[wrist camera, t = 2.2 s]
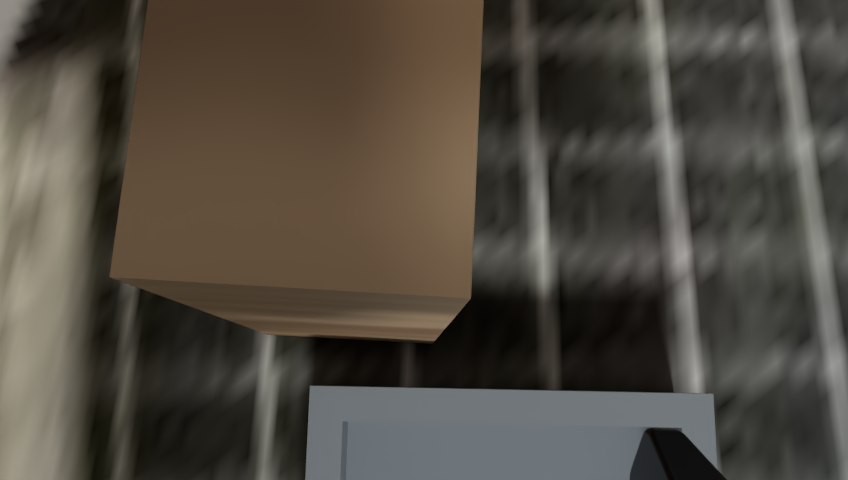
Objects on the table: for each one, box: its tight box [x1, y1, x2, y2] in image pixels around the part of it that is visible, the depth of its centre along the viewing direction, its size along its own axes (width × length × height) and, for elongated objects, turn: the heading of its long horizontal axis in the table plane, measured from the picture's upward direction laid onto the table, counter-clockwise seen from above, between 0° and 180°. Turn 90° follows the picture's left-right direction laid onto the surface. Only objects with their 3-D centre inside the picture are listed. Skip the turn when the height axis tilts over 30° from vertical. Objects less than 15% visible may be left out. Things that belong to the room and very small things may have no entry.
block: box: [109, 0, 484, 344], centre depth 15 cm, size 4×4×11 cm
